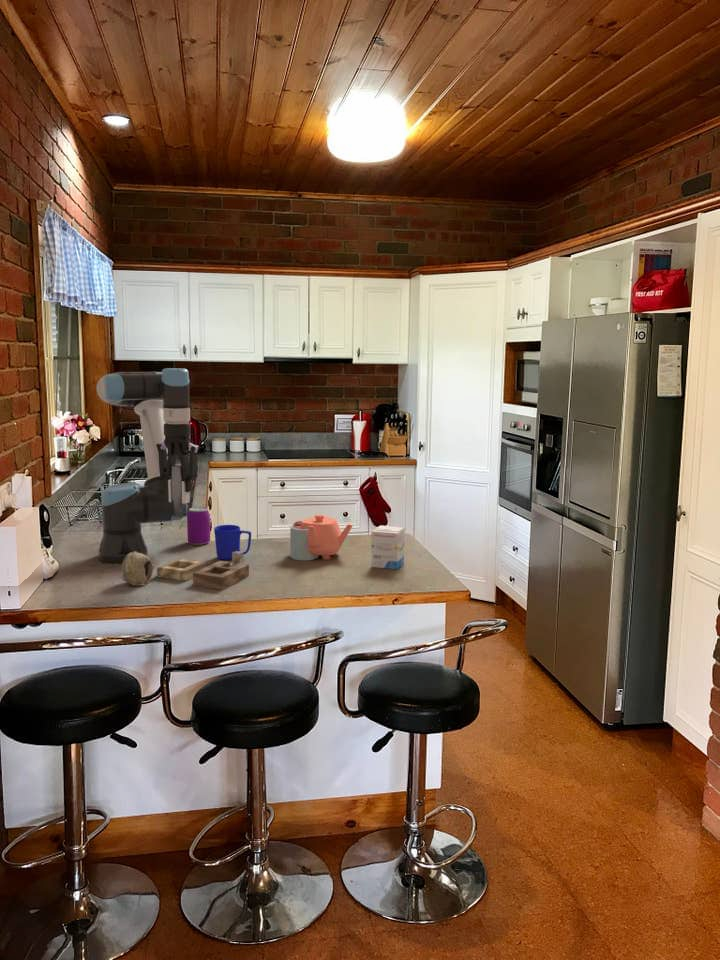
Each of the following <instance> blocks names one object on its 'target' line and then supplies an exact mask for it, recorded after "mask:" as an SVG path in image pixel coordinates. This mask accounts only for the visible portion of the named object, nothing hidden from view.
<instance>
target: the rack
mask: <svg viewBox="0 0 720 960" xmlns="http://www.w3.org/2000/svg"><path fill="white" fill-rule="evenodd" d="M205 567H206V562H205V561H199V560H191V559H186V558H185V559H184V558H178V557H177V558H175V559H173V560H169V561H167V562H165V563H163V564H161V565H158V566H157V567H156V577H157V576H160V577H159V578H162V577H167V578H166V579H168V578H173V579H172V580H175V579H179V580H178V581H181V580H185V581H184V582H187V581H189V580H191V579H193V578H192V577H193V573H194V572H197V571H199V570H201V569H203V568H205ZM186 580H187V581H186Z"/></svg>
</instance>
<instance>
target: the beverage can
mask: <svg viewBox="0 0 720 960" xmlns="http://www.w3.org/2000/svg"><path fill="white" fill-rule="evenodd" d="M186 520H187V521H186V522H187V523H186V525H187V526H186V528H187V542H188V543H189V544H190V545H192V546H204V545H203V544H205V545H207V544H209V543H210V542H211V517H210V512H209V510H208V508H207V507H205V506H194V507H191V508H189V509H188V512H187V516H186ZM208 542H209V543H208ZM206 543H207V544H206Z"/></svg>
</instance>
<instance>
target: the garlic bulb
mask: <svg viewBox="0 0 720 960" xmlns="http://www.w3.org/2000/svg"><path fill="white" fill-rule="evenodd" d="M154 569H155V565H154V564H153V562H152V560H151V558H150V557H149V556H148V555H147V556H146V555H144V554H141V553H138V552H135V551H134V552H133V553H129V554H128V555H127V556H126V557H125V558H124V560H123V563H121V572H122V576H121V580H122V581H123V582H126V583H128V584H130V585H131V586H146V585H147V584H148V583H149V582H150V580H151V579H152V576H153V571H154Z"/></svg>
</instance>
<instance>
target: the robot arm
mask: <svg viewBox="0 0 720 960" xmlns="http://www.w3.org/2000/svg"><path fill="white" fill-rule="evenodd" d="M189 375H190V373H189V370H188V369H187V368H185V367H184V368H182V367H181V368H179V367H178V368H176V367H175V368H174V367H172V368H171V367H169V368H168V367H167V368H163V369H162V370H161V371H153V370H152V371H117V372H113V373H109V374H105V375H104V376H101V377H100V378H99V379H98V381H97V382H96V386H95V391H96V395H97V396H98V398H99V399H100V400H101V401H102V402H103V403H105V404H109V405H112V406H117V407H133V409H134V413H135V414H137V415H138V416H139V419H140V427H141V434H142V442H143V449H144V456H145V464H146V465H145V466H146V473H147V479H146V480H145V481H144V483H143V486H140V484H139V483H138V482H123V483H122V482H121V483H118V484H113V485H110V486H107V487H105V488H104V489H103V490H102V492H101V503H100V506H101V512H102V513H101V515H102V517H101V518H102V538H101V541H100V544H99V545H100V546H99V548H98V554H97V555H98V560H99V561H101V562H104V563H114V564H115V563H117V564H118V563H121V564H122V563H123V560H124V558H125V557H126V556H127V555H128V554H129V553H133V552H134V551H135V552H138V553H141V554H144V555H146V556H147V557H148V552H149V551H148V546H147V545H146V542H145V539H144V535H143V534H142V524H150V523H151V524H152V523H163V522H173V521H174V522H175V521H180V520H183V518H185V516H184V517H174V516H173V510H172V479H171V465H174V464H176V461H177V457H178V459H179V462H180V463H179V464H181V468H182V473H183V478H184V480H183V481H182V503H183V504H185V503H186V510H187V508H188V503H190V502H191V500H190V499H191V497H190V495H191V494H190V492H192V481H193V480H196V479H197V478H198V455H199V451H200V446H199V445H197V444H193V443H192V440H191V439H190V437H191V433H192V432H191V423H190V421H191V408H190V405H191V404H190V400H191V399H190V383H191V381H190V376H189Z"/></svg>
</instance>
